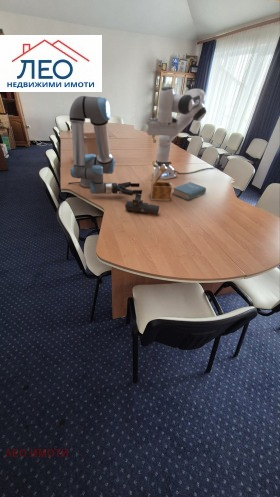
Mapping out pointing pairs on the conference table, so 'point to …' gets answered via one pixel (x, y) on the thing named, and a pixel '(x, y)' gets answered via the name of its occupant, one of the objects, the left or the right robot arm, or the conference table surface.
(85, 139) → the box
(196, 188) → the book
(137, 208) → the laser sight
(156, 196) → the chest
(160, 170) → the lid
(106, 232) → the conference table surface
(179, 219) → the conference table surface
